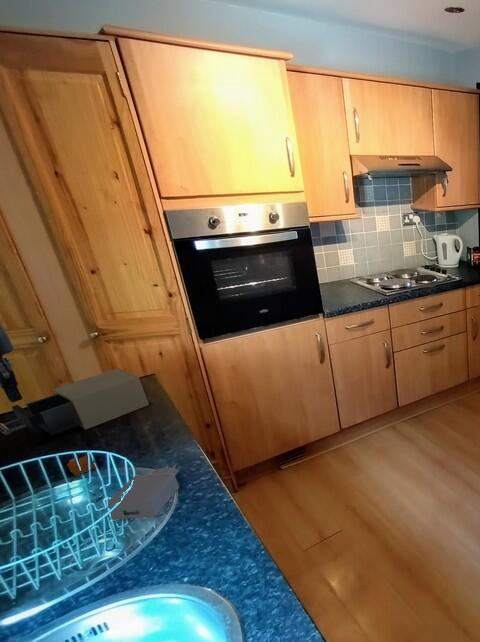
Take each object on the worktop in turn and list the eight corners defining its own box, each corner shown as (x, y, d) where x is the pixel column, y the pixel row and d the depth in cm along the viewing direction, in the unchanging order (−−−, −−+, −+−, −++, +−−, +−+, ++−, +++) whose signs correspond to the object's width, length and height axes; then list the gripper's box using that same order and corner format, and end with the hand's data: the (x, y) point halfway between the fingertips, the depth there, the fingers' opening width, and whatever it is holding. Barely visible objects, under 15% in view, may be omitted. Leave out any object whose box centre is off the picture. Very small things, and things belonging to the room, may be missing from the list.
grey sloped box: (85, 430, 127) (72, 400, 123) (66, 418, 133) (52, 389, 129) (149, 405, 140) (138, 377, 136) (128, 395, 145) (118, 368, 141)
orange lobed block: (97, 468, 112) (93, 459, 111) (77, 477, 108) (73, 468, 107) (83, 458, 115) (79, 449, 114) (63, 466, 112) (58, 458, 111)
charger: (194, 472, 110) (157, 517, 97) (154, 475, 109) (110, 520, 96) (189, 456, 108) (150, 500, 95) (148, 459, 107) (102, 503, 94)
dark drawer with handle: (16, 452, 116) (3, 426, 113) (0, 439, 121) (-14, 414, 118) (107, 417, 131) (97, 393, 128) (89, 407, 136) (79, 384, 133)
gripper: (-47, 335, 106) (-11, 399, 113) (-36, 347, 100) (1, 414, 107) (-2, 326, 112) (29, 387, 119) (12, 336, 105) (44, 401, 112)
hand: (16, 400), depth 113 cm, fingers closed
